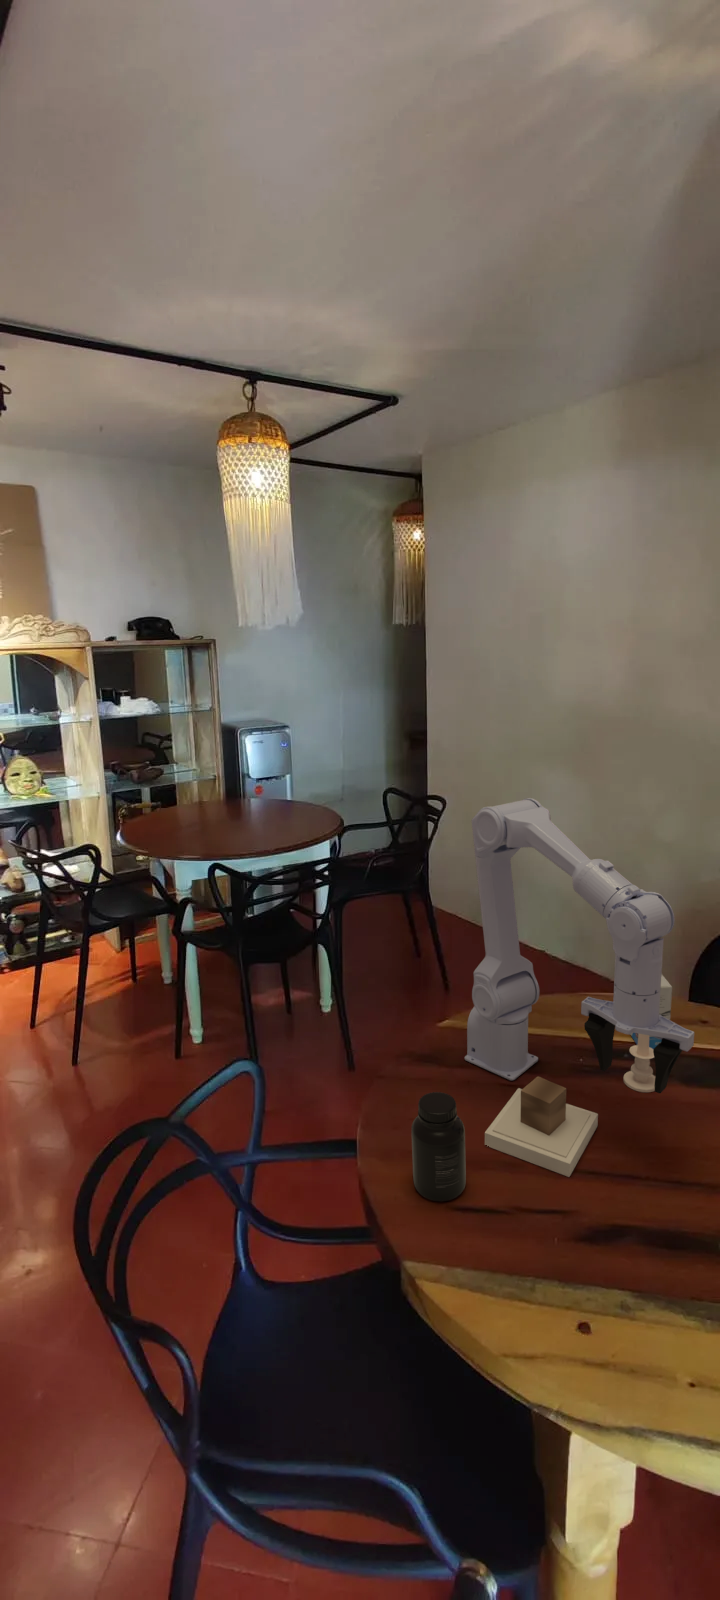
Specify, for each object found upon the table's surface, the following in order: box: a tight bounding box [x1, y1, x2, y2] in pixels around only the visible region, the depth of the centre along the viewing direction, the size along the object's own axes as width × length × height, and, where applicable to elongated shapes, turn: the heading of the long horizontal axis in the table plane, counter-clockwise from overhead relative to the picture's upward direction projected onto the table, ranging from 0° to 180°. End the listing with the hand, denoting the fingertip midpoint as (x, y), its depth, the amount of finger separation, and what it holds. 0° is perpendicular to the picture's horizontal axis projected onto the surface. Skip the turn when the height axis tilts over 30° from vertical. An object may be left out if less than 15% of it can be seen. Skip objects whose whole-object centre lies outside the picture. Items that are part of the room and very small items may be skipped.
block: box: [520, 1075, 567, 1136], centre depth 106 cm, size 4×4×5 cm
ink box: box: [629, 974, 673, 1049], centre depth 130 cm, size 8×5×12 cm, turn 179°
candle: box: [623, 1034, 655, 1093], centre depth 117 cm, size 5×5×10 cm
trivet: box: [484, 1087, 599, 1178], centre depth 107 cm, size 12×12×2 cm
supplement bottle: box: [410, 1091, 467, 1202], centre depth 98 cm, size 7×7×12 cm
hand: (632, 1078), depth 102 cm, fingers open, 7 cm apart
